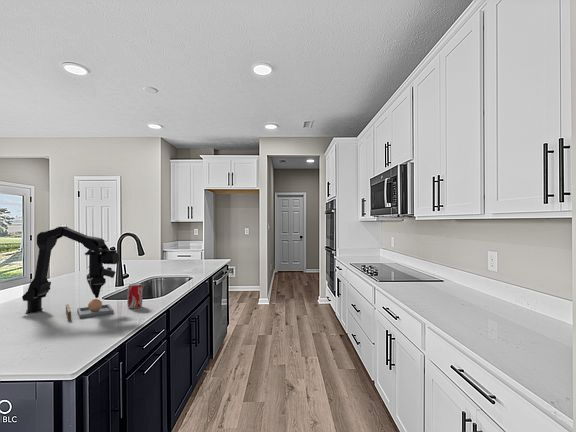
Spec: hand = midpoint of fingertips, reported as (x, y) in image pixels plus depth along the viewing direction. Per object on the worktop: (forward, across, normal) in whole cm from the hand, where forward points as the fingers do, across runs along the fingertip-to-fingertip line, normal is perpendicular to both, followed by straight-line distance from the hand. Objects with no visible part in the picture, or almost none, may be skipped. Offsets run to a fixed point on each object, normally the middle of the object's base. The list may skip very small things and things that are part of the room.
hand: (95, 296), depth 165 cm
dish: (+8, 0, 0) cm, 8 cm away
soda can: (+8, 0, -18) cm, 20 cm away
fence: (+8, 0, +11) cm, 14 cm away
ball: (+5, 0, 0) cm, 5 cm away
